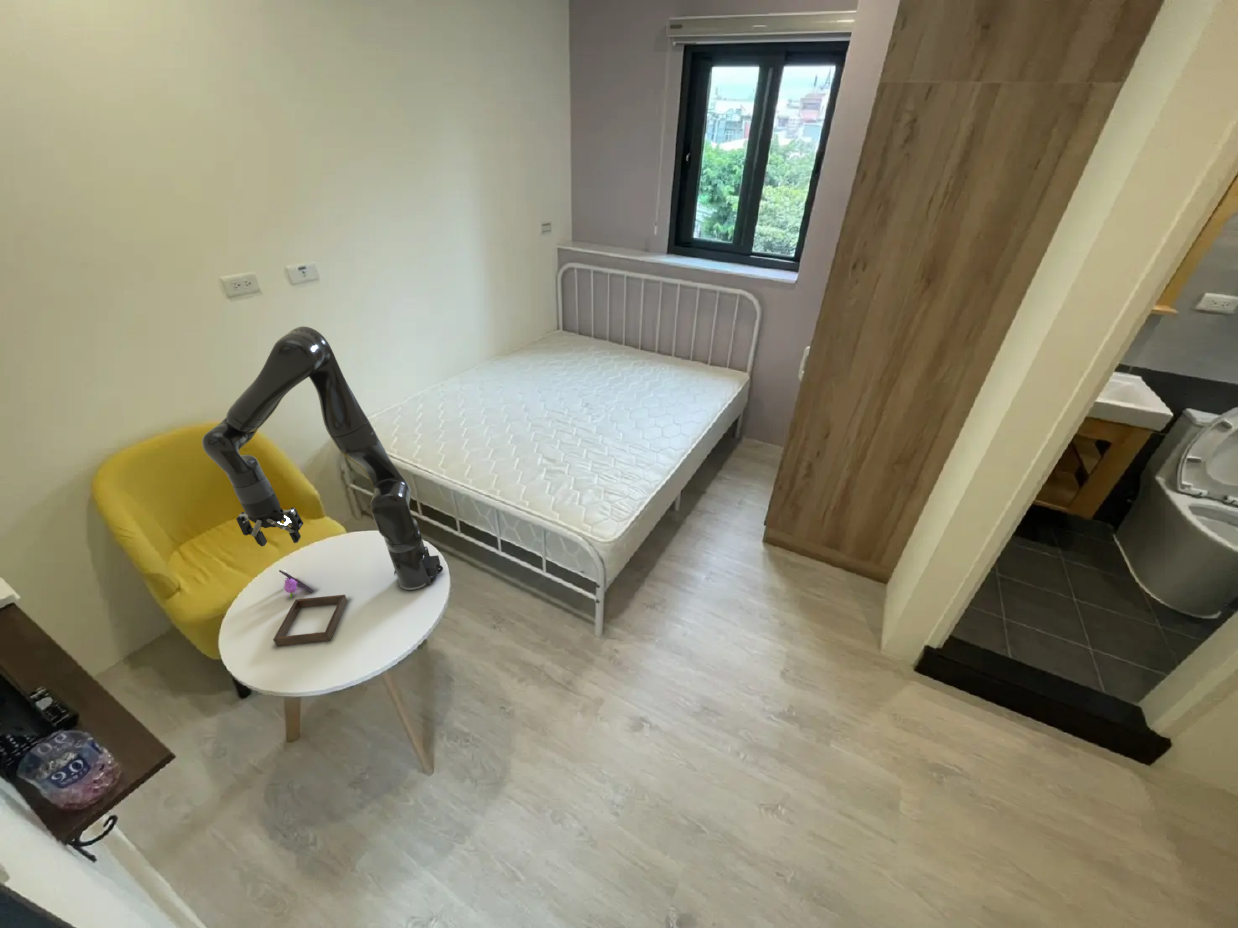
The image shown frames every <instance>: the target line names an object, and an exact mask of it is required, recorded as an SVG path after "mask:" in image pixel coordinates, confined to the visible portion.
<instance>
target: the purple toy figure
mask: <svg viewBox="0 0 1238 928" xmlns="http://www.w3.org/2000/svg"><path fill="white" fill-rule="evenodd" d="M278 572H279V573H281V575H283V576H285V577H286V578H285V579H284V583H283V588H284V591H285V592H286V593H288V594H289V596H290V598H293V594H294V593H295V592H296V591H298V588H297V586H298V585H299V586H300V587H303V588H305V589H306V590H308V591H310V592H312V593H314V589H312V588H311V587H309V586H308V585H306V584H305V583H303V581H301V580H300V579H298V578H296V577H294V576H293V575H291V574H290V573H288V572H287V570H286V569H282V570H281V569H278Z"/></svg>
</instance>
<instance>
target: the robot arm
mask: <svg viewBox="0 0 1238 928" xmlns="http://www.w3.org/2000/svg"><path fill="white" fill-rule="evenodd" d="M334 353H335V352H334V351H333V349H332V347H331V345H330V343H329V342H328V340H327V339H326V337H325V336H323V335H322V334H321V333H320V331H318V330H316V329H314V328H313V327H310V326H304V325H303V326H297V327H295V328H293V329H291V330H290V331H289V332H287V333H286V334H285V335H283V336H282V337H280V338H279V339H278V340H277V341H276V342H275V343H274V344H273V346H272V348H271V351H270V352H269V355H268V356H267V358H266V361H265V363H264V365H263V367H262V369H261V370H260V371H259V374H258V375H257V377H256V378H255V379H254V381H252V383H251V384H250V385H249V386H248V387H247V388H246V389H245V390H244V391H243V392H242V393H241V394H240V396H239V397H238V398H237V399H236V400H235V401H234V402H233V403H232V405H231V406H230V407H229V409H228V410H227V413H226V417H225V418H224V419H222V421H221V422H219V423H218V424H217V425H215V426H214V427H212V428H211V429H210V430H209V431H208V432H206V433H205V434H204V435H203V437H202V439H201V445H202V448H203V449H202V450H203V451H204V453H205V454H206V455H207V456H208V458H210V459H211V460H212V461H213V462H214V463H215V464H216V465H217V466H218V467H219V468H220V469H221V470H222V471H223V472H224V473H225V474H226V476H227V478H228V480H229V482H230V484H231V485H232V488H233V491H234V493H235V496H236V497H237V500H238V501H239V503H240V505H241V507H242V509H243V511H241V512H240V513H239V514H238V516H237V517H236V518H235V519H236V522H237V524H238V526H239V528H240V530H241V532H242V535H244V536H246V537H247V536H248V535H250V536H251V537H253V538H254V541H255V542H256V543H257V544H258V545H259V546H260V547H265V546H266V545H267V543H268V539H267V538H266V536H265V533H264V532H263V530H262V528H263V529H268V528H278V529H280V530H284V531H287V532H288V535H289V536H290V538H291V541H292V542H293V543H294V544H297V543H298V542H299V541H300V540H301V538H302V536H301V534H300V533H301V532H300V530H301V529H302V526H304V521H303V519H302V518H301V516H300V515H299V512H298V510H297V509H296V508H295V507H293V506H292V507H291V508H289V509H285V510H284V509H283V508H282V507H281V505H280V500H279V499H278V497H277V495H276V492H275V491H274V488H273V486H272V485H271V484H272V483H270V480H269V479H268V478H267V476H266V475H265V472H264V471H263V468H262V467H261V464H260V462H259V461H258V459H257V457H255V456H253V455H251V454H241V453H240V450H241V449H242V448H243V447H245V446H246V445H247V444H248V443H250V441H251V440H252V439H253V437H254V436H255V435H256V433H257V432H258V430H259V429H260V428H261V427H262V426H263V425H264V424H265V422H267V420H268V419H270V417H271V416H272V415H273V413H274V412H275V411H276V410H277V408H278V406H279V405H280V403H281V402H282V400H283V398H284V397H285V396H286V395H287V394H288V393H289V392H290V391H292V389H294V388H295V387H296V386H298V385H299V384H300V383H301V382H303V381H305V380H306V379H307V378H309V380H310V381H311V383H312V384H313V386H314V388H315V390H316V393H317V397H318V401H319V405H320V412H321V417H322V420H323V424H324V427H325V430H326V432H327V434H328V435H329V437H330V439H331V440H332V441H333V443H334V444H335V446H336V448H337V449H338V450H339V452H340V453H341V454H342V455H343V456H344V457H345V458H347V459H348V460H349V461H351V462H353V463H354V464H356V465H357V466H359V468H361V470H363V472H364V473H365V475H366V477H367V478H368V480H369V482H370V484H371V486H372V488H373V494H372V497H371V500H370V504H369V505H370V506H369V507H370V513H371V516H372V518H373V521H374V523H375V525H376V527H377V528H376V529H377V531H378V533H379V534H380V535H381V536H382V538H383V540H384V543H385V545H386V549H387V551H388V555H389V557H390V560H391V564H392V566H393V568H394V571H393V574H394V576H396V577H397V581H398V585H399V587H400V588H401V589H403V590H405V591H416V590H420V589H422V588H424V587H426V586H429V585H431V584H432V580H433V577H437V576H438V575H439V574H440V573H442V572H443V570H444V567H443V566H442V565H441V560H440V558H439V557H440V556H439V555H430V551H429V548H428V546H427V545H426V546H425V544H424V541H423V537H422V533H421V531H420V530H421V529H420V527H419V523H418V521H417V520H416V519H415V518H413V516H412V512H411V509H410V508H411V507H410V503H411V498H412V490H411V487H410V484H409V483H408V482H407V481H406V479H405V478H404V476H403V475H402V473H401V472H400V471H399V470H398V469H397V467H396V466H395V464H394V463H393V461H392V460H391V459H390V457H389V455H388V453H387V451H386V448H385V447H384V445H383V443H382V442H381V440H380V438H379V436H378V435H377V433H376V430H375V428H374V427H373V425H372V424H371V422H370V419H368V417H367V415H366V413H365V412H364V409H362V407H361V405H360V403H359V401H358V400H357V397H355V396H356V395H355V394H354V393H353V391H352V389H351V387H350V386H349V384H348V382H347V380H346V378H345V377H344V374H343V372H342V370H341V367H340V365H339V363H338V360H337V358H336V356H335V354H334ZM250 521H251V522H252V523H254V526H252V524H251V522H250ZM282 522H283V523H282Z"/></svg>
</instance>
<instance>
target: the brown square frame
mask: <svg viewBox="0 0 1238 928" xmlns="http://www.w3.org/2000/svg"><path fill="white" fill-rule="evenodd" d="M347 604H348V598H347V596H346V594H338V595H337V594H335V595H328V596H327V595H326V596H315V597H306V598H297V599H295V600H294V601H293V603H292V604H291V606H290V608H289V610H288V612H287V614H286V616H285V617H284V620H282V623H281V625H280V626H279V628H278V630H277V631H276V633H275V636H274V638H273V639H272V640H273V642H274V643H275V645H276V647H282V646H291V645H293V646H294V645H301V644H302V645H303V644H312V643H321V642H330V641H331V640H332V638H333V636H334V633H335V631H336V628H337V626H338V624H339V621H340V619H341V617H342V615H343V613H344V610H345V608H346V606H347ZM330 605H331V606H332V605H336V607H335V609H334V611H333V613H332V615H331V618H330V620H329V622H328V624H327V627H326V629H325V630H324V631H322V632H313V633H302V634H292V635H291V634H290V635H288V632H289V630H290V629H291V627H292V624H293V622H294V621H295V619H296V617H297V615H298V613H299V611H300V609H302V608H311V607H320V606H321V607H322V606H330Z"/></svg>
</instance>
